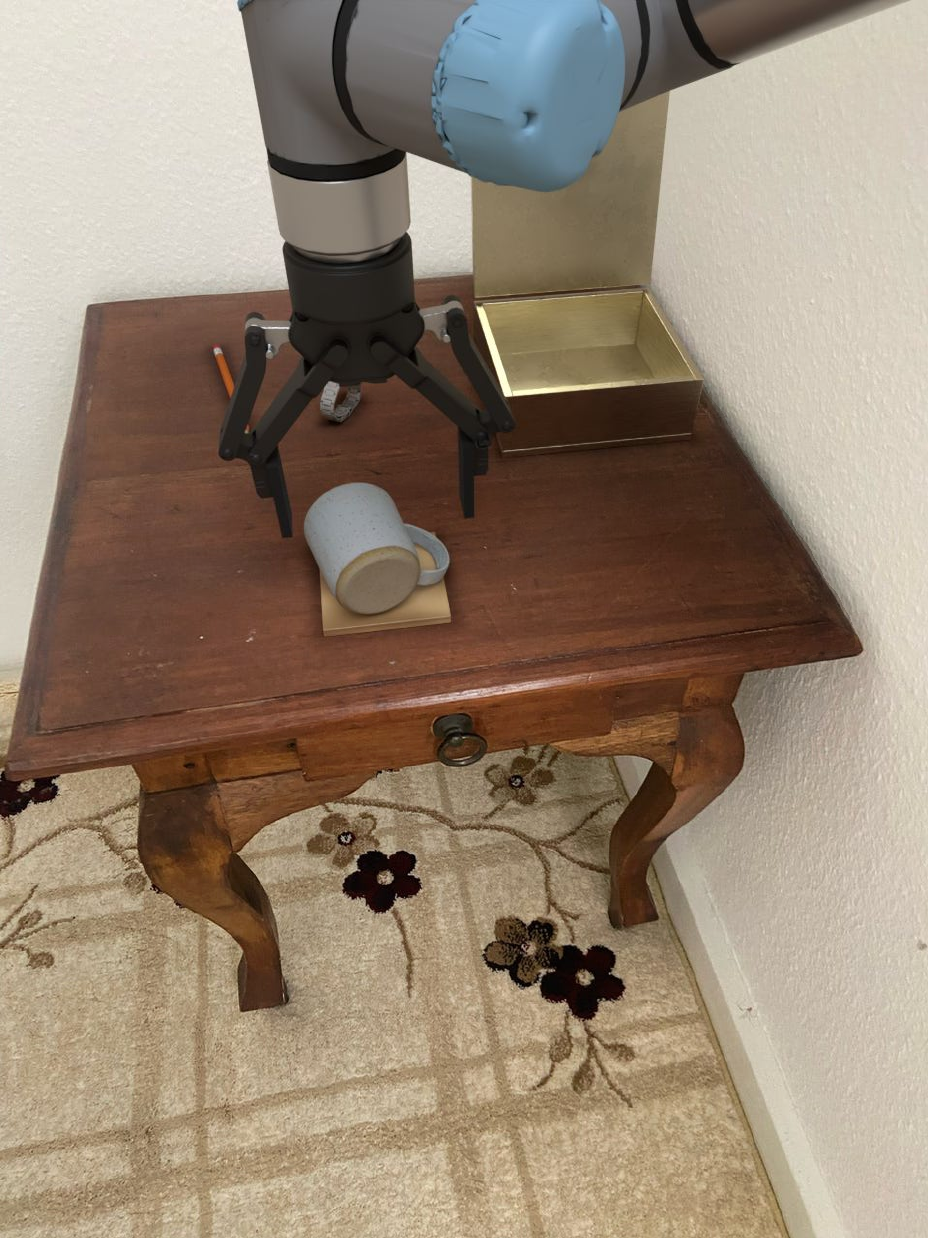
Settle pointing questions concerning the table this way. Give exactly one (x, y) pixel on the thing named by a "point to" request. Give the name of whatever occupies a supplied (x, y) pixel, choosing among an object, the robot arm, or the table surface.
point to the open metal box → (587, 371)
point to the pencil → (225, 372)
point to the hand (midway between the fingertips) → (377, 516)
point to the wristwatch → (343, 409)
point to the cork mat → (414, 611)
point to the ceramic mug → (369, 548)
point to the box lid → (576, 218)
